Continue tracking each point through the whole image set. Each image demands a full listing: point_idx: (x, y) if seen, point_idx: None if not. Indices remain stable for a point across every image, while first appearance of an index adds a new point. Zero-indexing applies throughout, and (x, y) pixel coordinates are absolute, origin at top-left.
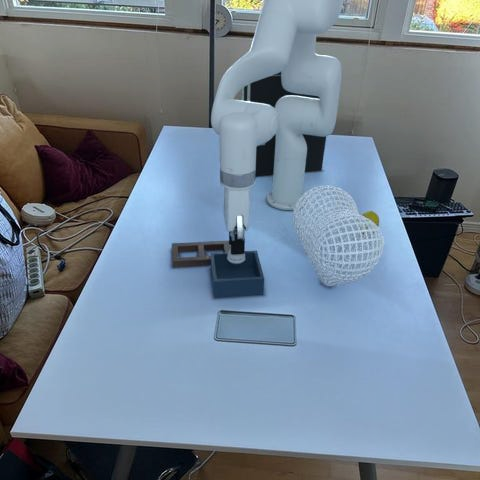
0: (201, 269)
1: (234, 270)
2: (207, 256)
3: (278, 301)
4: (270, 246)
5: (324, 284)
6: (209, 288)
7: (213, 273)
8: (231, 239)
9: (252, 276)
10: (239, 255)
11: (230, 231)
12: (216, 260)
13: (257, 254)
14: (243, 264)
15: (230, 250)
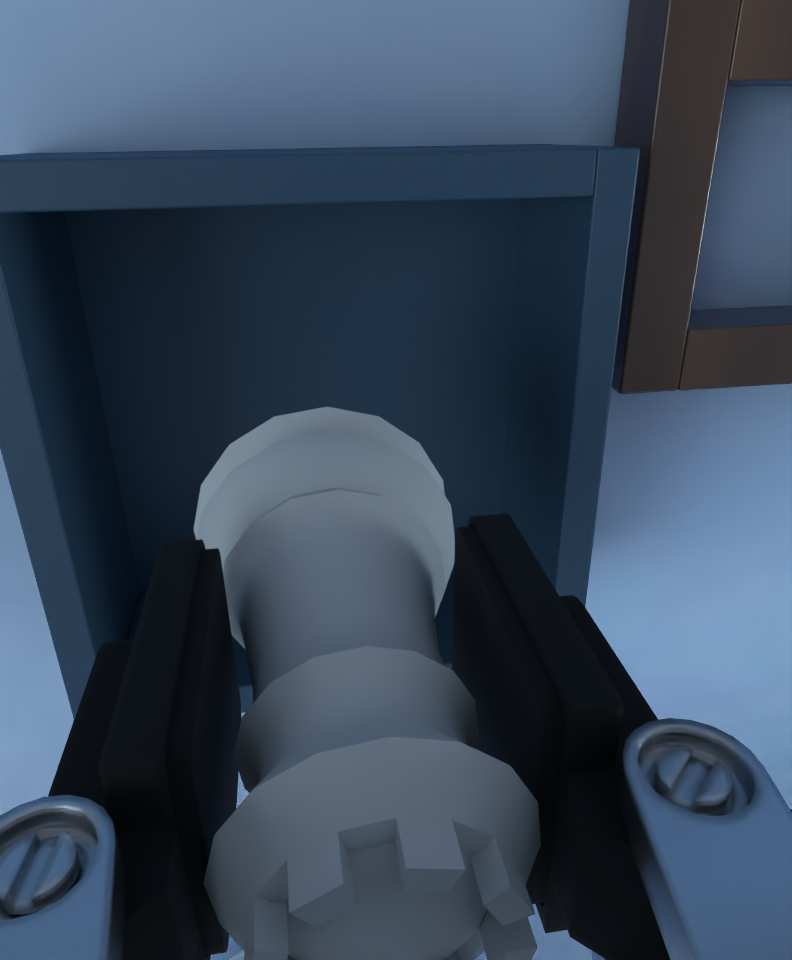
0: (563, 27)
1: (466, 394)
2: (713, 113)
3: (47, 700)
4: (756, 669)
5: (234, 955)
6: (203, 105)
7: (128, 166)
8: (128, 776)
9: None
10: (234, 621)
11: (551, 724)
12: (554, 225)
13: None
14: (513, 489)
15: (317, 519)
